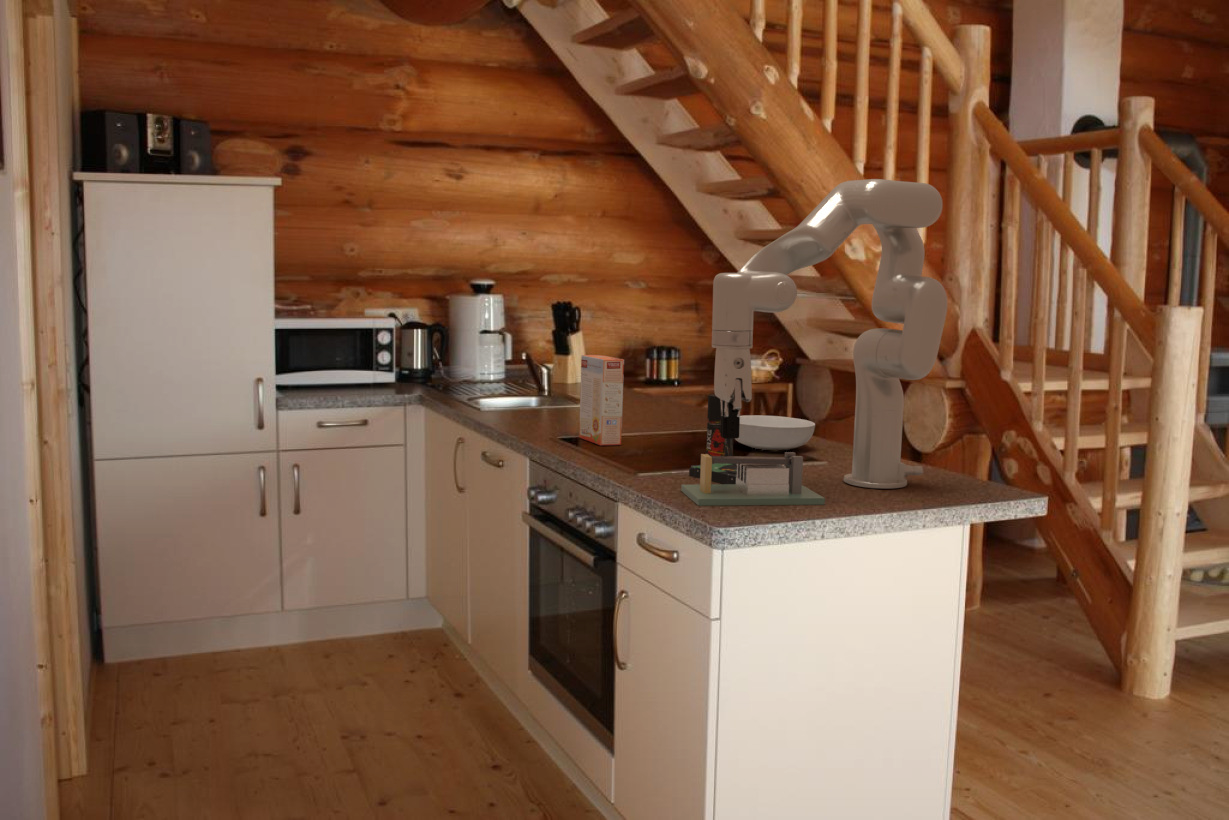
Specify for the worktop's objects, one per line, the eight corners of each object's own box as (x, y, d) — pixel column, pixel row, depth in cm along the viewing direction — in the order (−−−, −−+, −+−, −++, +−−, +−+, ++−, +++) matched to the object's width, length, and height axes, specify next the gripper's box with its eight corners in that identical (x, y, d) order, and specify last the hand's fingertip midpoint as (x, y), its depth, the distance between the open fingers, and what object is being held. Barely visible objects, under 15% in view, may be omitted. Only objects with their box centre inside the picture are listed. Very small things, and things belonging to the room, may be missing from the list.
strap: (795, 464, 223) (796, 455, 223) (800, 466, 221) (800, 457, 220) (709, 463, 220) (710, 453, 220) (713, 465, 218) (713, 456, 217)
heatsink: (775, 487, 226) (776, 461, 225) (788, 495, 218) (789, 468, 217) (735, 487, 224) (736, 461, 224) (747, 495, 217) (748, 468, 216)
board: (800, 489, 230) (802, 448, 229) (824, 504, 216) (826, 460, 215) (681, 490, 226) (682, 448, 225) (698, 505, 212) (699, 461, 211)
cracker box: (622, 445, 280) (625, 358, 278) (599, 446, 278) (601, 358, 275) (600, 437, 293) (602, 353, 290) (578, 438, 291) (580, 354, 288)
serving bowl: (804, 458, 269) (806, 428, 268) (716, 451, 276) (717, 422, 275) (821, 446, 289) (822, 418, 288) (738, 439, 296) (739, 412, 295)
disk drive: (774, 485, 237) (723, 473, 249) (775, 472, 237) (724, 460, 248) (737, 490, 231) (687, 478, 242) (738, 476, 231) (688, 464, 242)
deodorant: (737, 462, 260) (740, 395, 258) (721, 465, 256) (724, 397, 254) (716, 459, 264) (719, 393, 262) (700, 462, 260) (702, 394, 258)
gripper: (763, 342, 210) (760, 443, 212) (740, 337, 225) (738, 431, 227) (723, 342, 209) (720, 444, 211) (702, 337, 223) (700, 432, 226)
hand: (729, 437), depth 219 cm, fingers closed
